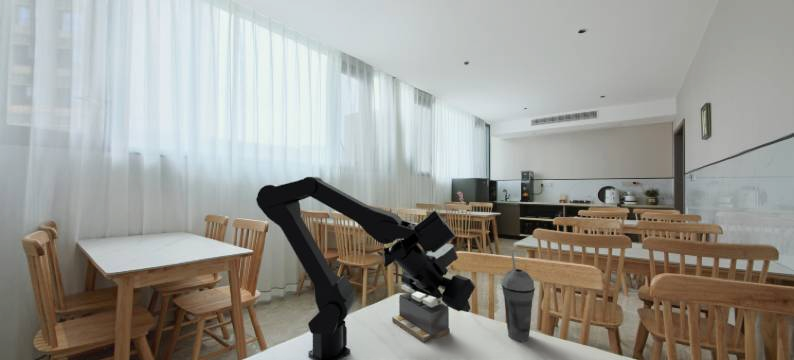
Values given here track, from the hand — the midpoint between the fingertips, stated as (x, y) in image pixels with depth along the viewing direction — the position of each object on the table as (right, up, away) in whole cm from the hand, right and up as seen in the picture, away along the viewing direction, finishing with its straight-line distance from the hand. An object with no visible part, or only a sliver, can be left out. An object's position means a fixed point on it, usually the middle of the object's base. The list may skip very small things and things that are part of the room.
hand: (454, 303), depth 70 cm
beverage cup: (+15, -9, +1) cm, 18 cm away
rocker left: (-9, -1, +11) cm, 14 cm away
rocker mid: (-7, -1, +7) cm, 10 cm away
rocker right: (-4, -1, +3) cm, 5 cm away
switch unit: (-7, -9, +7) cm, 13 cm away
